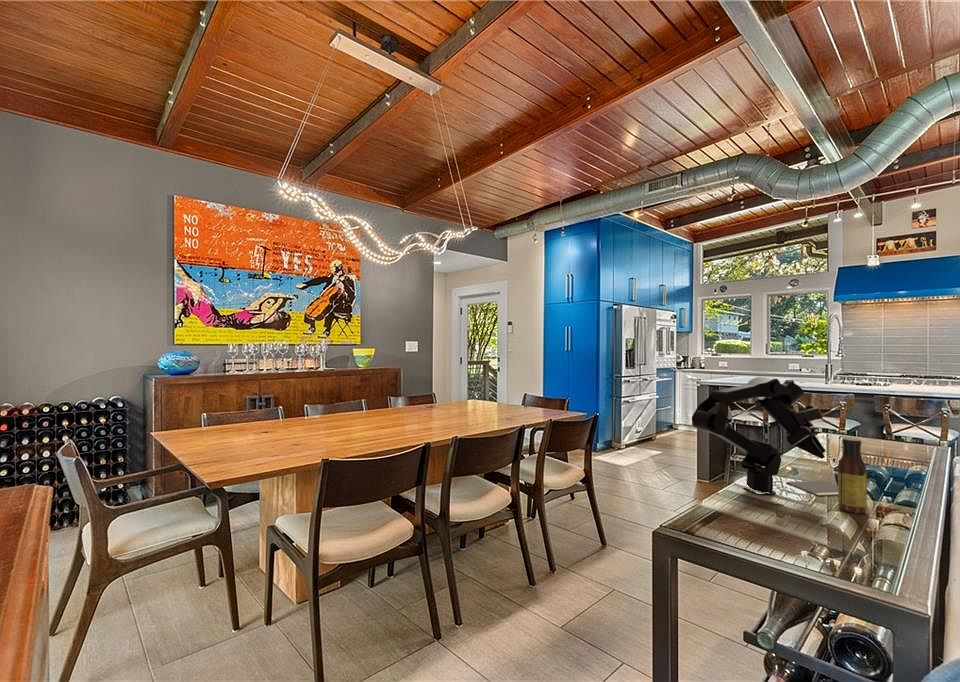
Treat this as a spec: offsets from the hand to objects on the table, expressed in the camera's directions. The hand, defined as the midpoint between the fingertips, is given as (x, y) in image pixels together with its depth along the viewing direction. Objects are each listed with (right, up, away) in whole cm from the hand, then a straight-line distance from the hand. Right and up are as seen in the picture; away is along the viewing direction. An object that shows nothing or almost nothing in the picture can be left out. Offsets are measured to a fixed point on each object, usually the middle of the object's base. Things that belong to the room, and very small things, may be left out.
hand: (823, 454), depth 134 cm
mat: (+7, -13, +10) cm, 18 cm away
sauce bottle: (+2, -14, -7) cm, 16 cm away
